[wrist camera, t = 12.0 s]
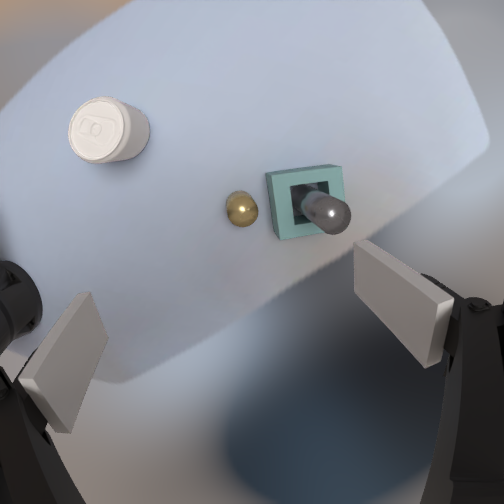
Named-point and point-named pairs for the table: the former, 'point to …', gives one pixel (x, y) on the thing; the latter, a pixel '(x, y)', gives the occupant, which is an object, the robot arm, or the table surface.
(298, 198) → the long pin
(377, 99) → the table surface
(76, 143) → the beverage can
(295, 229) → the hole block
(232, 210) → the short pin
